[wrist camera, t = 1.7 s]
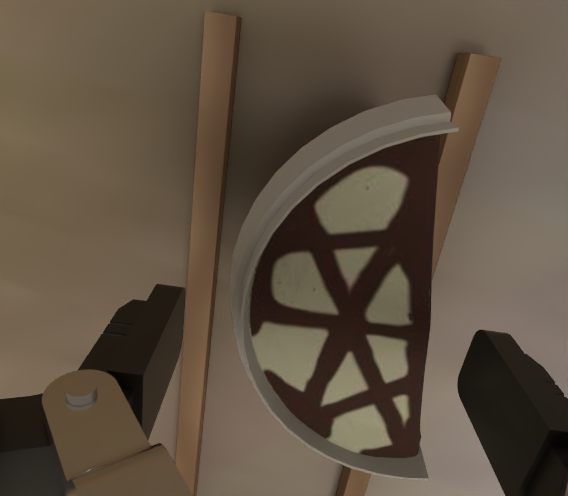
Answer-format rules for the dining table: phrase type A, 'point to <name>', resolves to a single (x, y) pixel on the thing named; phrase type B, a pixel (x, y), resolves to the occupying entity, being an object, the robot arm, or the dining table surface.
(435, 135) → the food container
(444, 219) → the guide channel
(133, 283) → the dining table surface
